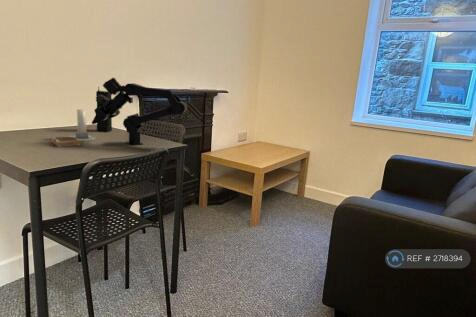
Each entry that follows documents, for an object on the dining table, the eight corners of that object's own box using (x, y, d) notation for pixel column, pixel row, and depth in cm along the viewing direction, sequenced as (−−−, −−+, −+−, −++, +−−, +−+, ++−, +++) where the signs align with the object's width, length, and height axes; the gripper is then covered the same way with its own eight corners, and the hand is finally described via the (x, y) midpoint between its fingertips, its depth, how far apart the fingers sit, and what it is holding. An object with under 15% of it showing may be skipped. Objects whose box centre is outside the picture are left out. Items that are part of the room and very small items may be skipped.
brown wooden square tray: (80, 145, 162) (80, 140, 161) (57, 147, 155) (57, 141, 155) (74, 141, 169) (74, 136, 169) (52, 142, 163) (51, 137, 162)
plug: (87, 138, 174) (86, 111, 170) (74, 138, 172) (73, 110, 169) (89, 136, 179) (89, 109, 176) (77, 136, 178) (76, 109, 175)
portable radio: (114, 130, 203) (114, 87, 197) (109, 132, 197) (109, 88, 191) (101, 129, 204) (100, 86, 198) (96, 131, 198) (95, 86, 192)
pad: (95, 140, 176) (95, 138, 175) (74, 141, 169) (74, 140, 169) (89, 136, 183) (89, 135, 183) (68, 137, 176) (68, 136, 176)
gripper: (113, 88, 179) (93, 108, 181) (98, 90, 161) (75, 112, 163) (128, 105, 180) (108, 124, 183) (115, 108, 162) (92, 130, 165)
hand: (96, 122), depth 174 cm, fingers open, 9 cm apart
